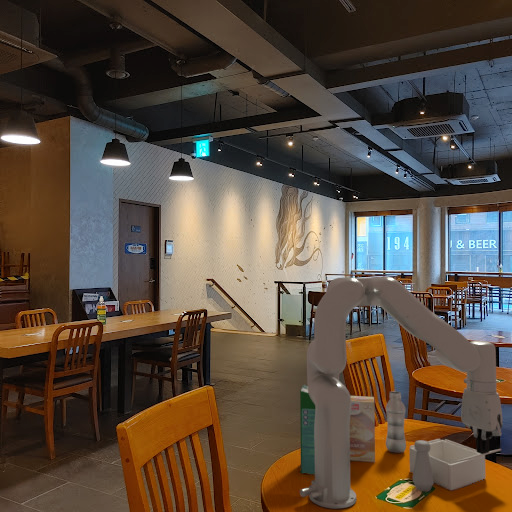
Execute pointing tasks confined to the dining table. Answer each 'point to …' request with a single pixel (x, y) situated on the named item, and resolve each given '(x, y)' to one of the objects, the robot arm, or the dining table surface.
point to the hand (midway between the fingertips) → (482, 452)
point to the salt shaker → (423, 467)
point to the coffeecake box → (362, 429)
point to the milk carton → (307, 431)
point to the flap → (476, 456)
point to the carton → (452, 464)
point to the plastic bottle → (395, 423)
